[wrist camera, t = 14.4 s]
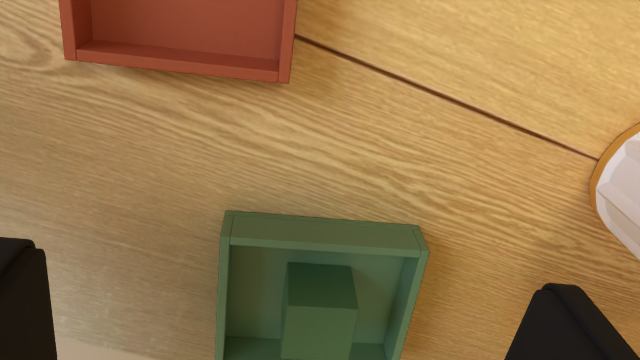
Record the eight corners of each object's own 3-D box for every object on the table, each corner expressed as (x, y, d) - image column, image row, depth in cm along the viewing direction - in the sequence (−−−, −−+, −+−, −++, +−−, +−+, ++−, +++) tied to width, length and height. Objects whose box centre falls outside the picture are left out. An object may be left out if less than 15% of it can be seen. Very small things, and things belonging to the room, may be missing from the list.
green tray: (219, 335, 37) (214, 368, 35) (225, 210, 32) (220, 236, 30) (387, 343, 39) (395, 375, 36) (418, 225, 34) (430, 251, 31)
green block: (281, 311, 36) (280, 359, 32) (287, 261, 34) (287, 305, 30) (341, 314, 36) (348, 362, 32) (351, 265, 34) (359, 309, 30)
